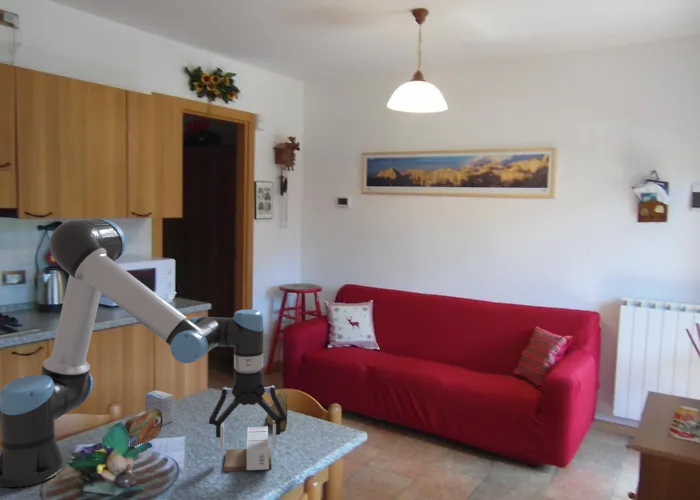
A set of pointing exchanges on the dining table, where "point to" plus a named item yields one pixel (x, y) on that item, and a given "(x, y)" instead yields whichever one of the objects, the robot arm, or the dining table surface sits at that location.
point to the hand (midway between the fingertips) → (248, 447)
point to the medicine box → (161, 404)
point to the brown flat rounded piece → (144, 426)
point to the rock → (283, 400)
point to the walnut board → (239, 460)
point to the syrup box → (257, 448)
